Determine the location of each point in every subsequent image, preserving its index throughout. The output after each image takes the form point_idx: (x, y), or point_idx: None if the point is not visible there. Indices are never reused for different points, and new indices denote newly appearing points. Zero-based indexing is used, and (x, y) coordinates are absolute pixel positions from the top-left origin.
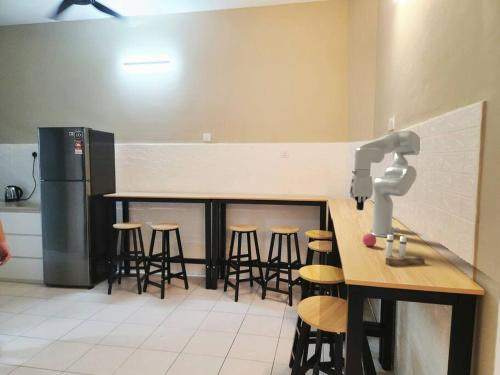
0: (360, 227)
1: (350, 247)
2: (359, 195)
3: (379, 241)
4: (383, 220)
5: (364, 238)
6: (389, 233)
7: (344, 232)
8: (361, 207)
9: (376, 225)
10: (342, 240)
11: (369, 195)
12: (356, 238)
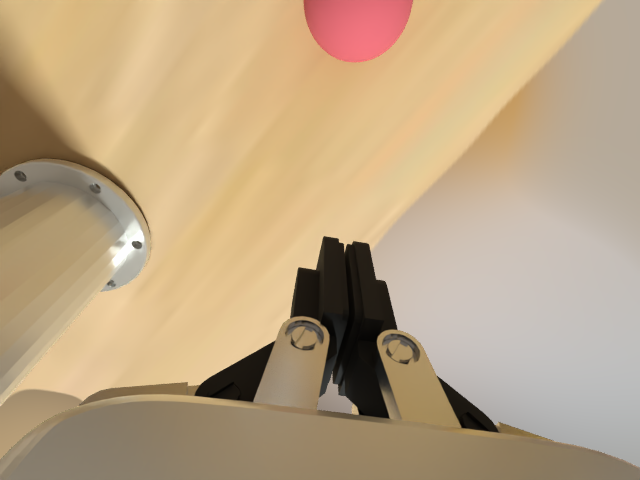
0: (123, 366)
1: (508, 24)
2: (541, 450)
3: (189, 95)
4: (15, 244)
5: (411, 6)
6: (31, 185)
7: (275, 316)
8: (344, 267)
9: (91, 255)
10: (413, 190)
11: (172, 409)
12: (295, 202)
